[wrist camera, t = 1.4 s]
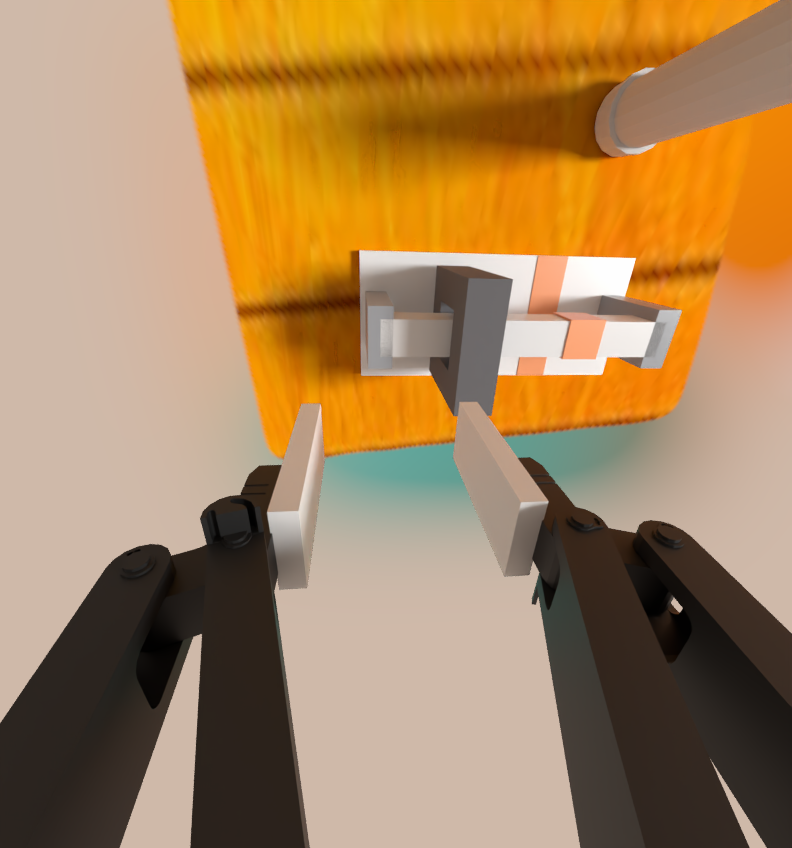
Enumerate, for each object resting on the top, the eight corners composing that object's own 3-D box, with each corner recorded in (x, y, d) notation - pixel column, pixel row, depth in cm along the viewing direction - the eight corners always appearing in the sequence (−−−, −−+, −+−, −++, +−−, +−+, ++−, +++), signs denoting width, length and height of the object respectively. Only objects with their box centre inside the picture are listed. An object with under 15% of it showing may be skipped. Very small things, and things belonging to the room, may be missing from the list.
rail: (359, 250, 35) (360, 255, 27) (630, 257, 38) (706, 264, 30) (361, 373, 40) (362, 408, 32) (598, 372, 43) (654, 404, 35)
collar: (436, 265, 34) (468, 278, 25) (468, 266, 35) (512, 279, 25) (429, 370, 39) (453, 416, 29) (457, 370, 39) (491, 415, 29)
